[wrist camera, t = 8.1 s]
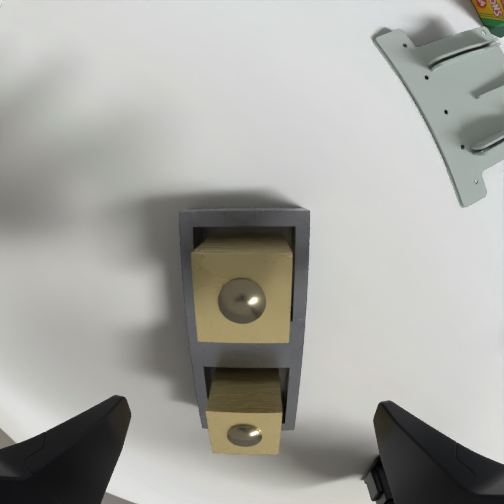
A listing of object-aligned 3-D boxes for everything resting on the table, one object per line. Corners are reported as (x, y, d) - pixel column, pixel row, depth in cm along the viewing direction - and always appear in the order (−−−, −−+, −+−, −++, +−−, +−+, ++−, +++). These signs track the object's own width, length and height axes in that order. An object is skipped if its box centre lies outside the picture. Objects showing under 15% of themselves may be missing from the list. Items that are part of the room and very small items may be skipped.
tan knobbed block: (282, 232, 18) (293, 254, 12) (280, 298, 19) (289, 344, 13) (212, 233, 18) (190, 254, 12) (215, 297, 19) (197, 343, 13)
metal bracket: (485, 0, 8) (561, 156, 11) (462, 20, 13) (529, 151, 16) (362, 36, 14) (460, 220, 16) (356, 59, 19) (435, 204, 22)
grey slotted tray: (303, 207, 18) (310, 210, 16) (291, 410, 22) (294, 429, 19) (189, 208, 18) (178, 211, 16) (206, 408, 22) (202, 428, 20)
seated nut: (277, 358, 20) (282, 414, 14) (275, 400, 21) (278, 455, 15) (218, 357, 20) (205, 412, 14) (221, 399, 21) (212, 454, 15)
